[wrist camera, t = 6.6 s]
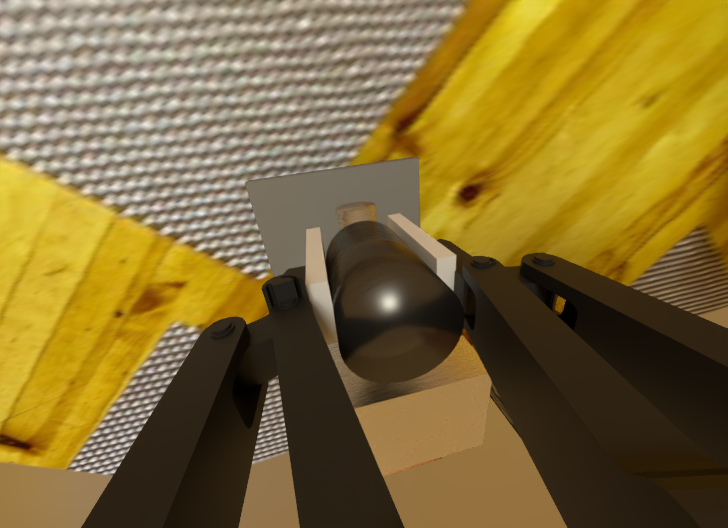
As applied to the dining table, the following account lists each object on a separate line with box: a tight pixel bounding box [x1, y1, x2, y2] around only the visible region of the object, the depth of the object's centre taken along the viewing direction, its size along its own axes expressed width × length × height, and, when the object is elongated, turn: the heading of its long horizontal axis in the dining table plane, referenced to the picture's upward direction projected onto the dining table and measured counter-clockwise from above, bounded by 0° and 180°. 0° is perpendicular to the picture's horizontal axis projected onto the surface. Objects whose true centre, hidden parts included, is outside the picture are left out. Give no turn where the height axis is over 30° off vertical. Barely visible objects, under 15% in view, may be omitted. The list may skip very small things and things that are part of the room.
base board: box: [245, 157, 420, 277], centre depth 27 cm, size 24×14×2 cm, turn 7°
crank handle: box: [326, 202, 464, 383], centre depth 15 cm, size 20×4×8 cm, turn 7°
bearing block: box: [327, 335, 492, 474], centre depth 20 cm, size 6×10×14 cm, turn 97°
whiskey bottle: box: [462, 329, 520, 436], centre depth 20 cm, size 10×10×32 cm
